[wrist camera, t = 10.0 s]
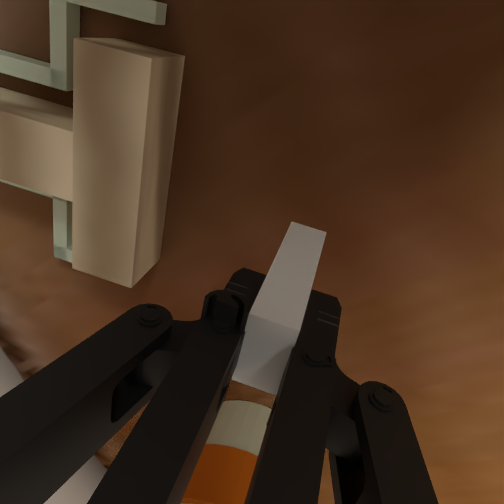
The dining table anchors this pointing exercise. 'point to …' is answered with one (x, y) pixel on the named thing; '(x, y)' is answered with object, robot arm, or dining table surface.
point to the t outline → (70, 77)
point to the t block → (102, 152)
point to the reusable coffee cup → (229, 455)
